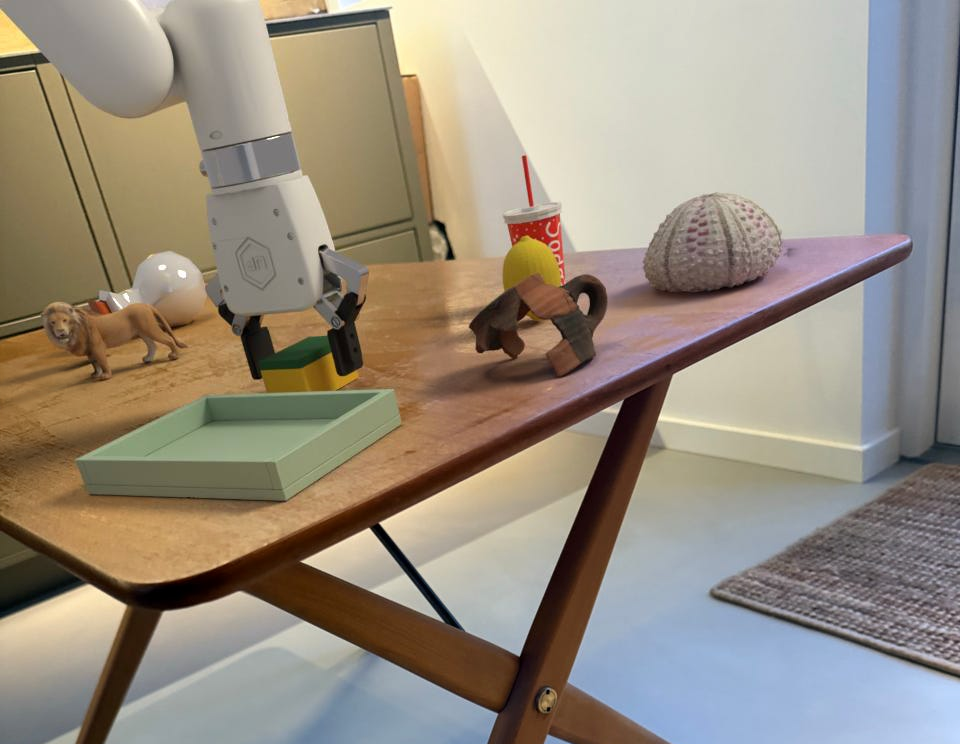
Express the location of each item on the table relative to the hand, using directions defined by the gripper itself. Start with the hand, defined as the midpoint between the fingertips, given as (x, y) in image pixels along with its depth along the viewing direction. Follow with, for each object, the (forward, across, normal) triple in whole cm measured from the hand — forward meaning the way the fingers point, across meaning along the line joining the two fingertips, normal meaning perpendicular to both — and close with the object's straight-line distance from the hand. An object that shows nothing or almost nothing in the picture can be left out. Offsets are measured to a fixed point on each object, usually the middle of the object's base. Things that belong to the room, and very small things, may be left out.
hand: (307, 373), depth 92 cm
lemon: (+2, +13, +20) cm, 24 cm away
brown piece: (+2, +21, +6) cm, 22 cm away
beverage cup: (+2, +9, +30) cm, 31 cm away
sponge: (+2, 0, 0) cm, 2 cm away
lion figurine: (+2, -35, +10) cm, 36 cm away
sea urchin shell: (+2, +27, +31) cm, 41 cm away
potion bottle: (+2, -48, +29) cm, 56 cm away
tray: (+2, +6, -16) cm, 17 cm away
